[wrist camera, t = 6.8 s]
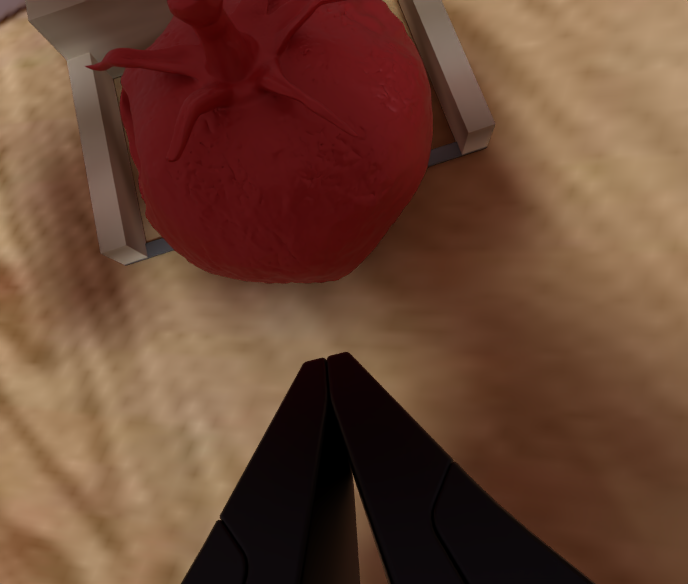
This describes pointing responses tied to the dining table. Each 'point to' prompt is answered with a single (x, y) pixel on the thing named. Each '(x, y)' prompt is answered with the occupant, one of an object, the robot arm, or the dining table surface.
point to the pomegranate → (276, 133)
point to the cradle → (141, 32)
